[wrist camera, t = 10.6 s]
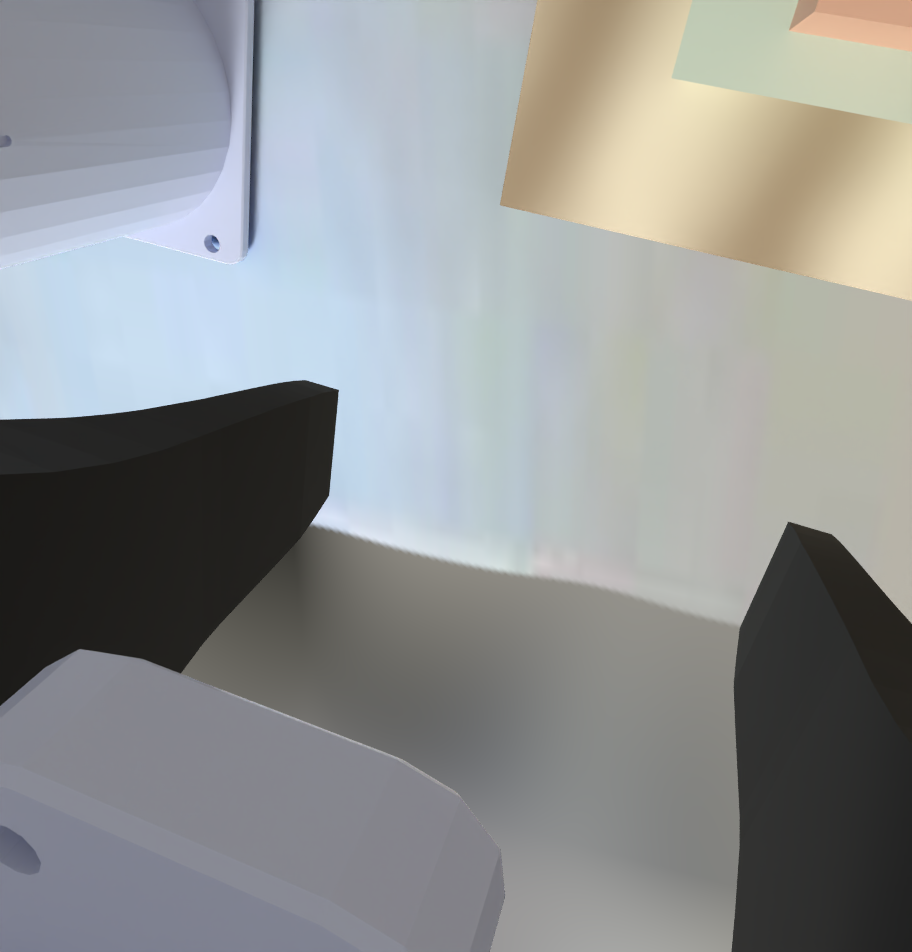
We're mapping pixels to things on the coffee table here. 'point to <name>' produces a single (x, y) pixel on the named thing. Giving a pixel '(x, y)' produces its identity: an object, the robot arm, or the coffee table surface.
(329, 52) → the coffee table surface
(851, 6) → the terracotta brick
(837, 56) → the sage brick
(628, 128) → the baseplate
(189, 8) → the robot arm
